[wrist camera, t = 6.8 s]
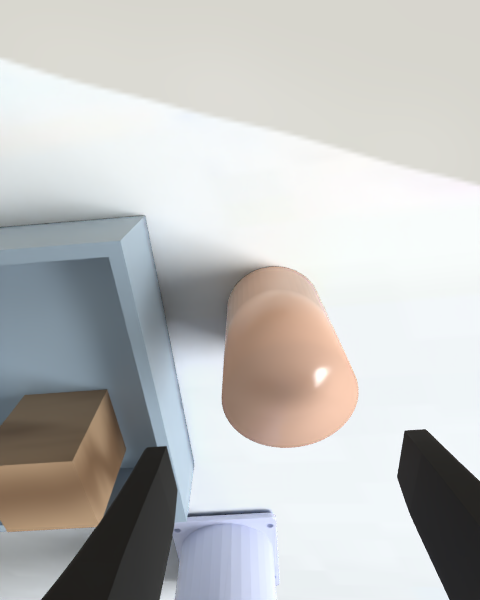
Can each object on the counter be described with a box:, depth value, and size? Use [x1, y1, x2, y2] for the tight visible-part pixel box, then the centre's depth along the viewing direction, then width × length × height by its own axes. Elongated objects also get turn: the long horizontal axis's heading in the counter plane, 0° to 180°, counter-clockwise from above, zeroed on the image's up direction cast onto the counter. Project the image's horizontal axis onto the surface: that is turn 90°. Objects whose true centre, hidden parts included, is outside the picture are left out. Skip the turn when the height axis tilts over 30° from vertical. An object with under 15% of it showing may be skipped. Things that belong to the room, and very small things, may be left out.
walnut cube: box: [0, 389, 126, 532], centre depth 20 cm, size 5×5×5 cm
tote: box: [0, 216, 194, 532], centre depth 19 cm, size 17×13×4 cm
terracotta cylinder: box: [222, 267, 358, 448], centre depth 16 cm, size 5×5×7 cm
